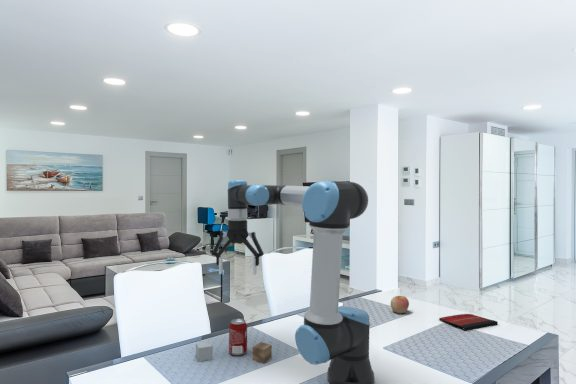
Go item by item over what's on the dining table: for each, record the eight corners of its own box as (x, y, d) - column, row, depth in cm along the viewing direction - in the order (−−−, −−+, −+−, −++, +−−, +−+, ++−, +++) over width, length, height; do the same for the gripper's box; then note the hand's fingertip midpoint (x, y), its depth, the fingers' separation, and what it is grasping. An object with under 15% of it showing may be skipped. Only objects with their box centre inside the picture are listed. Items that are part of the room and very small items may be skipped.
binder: (497, 321, 179) (464, 327, 170) (497, 326, 178) (464, 332, 170) (469, 312, 193) (436, 317, 185) (469, 316, 193) (437, 322, 185)
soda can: (243, 357, 142) (244, 324, 142) (226, 355, 144) (226, 323, 143) (249, 349, 149) (249, 318, 149) (232, 348, 150) (232, 317, 150)
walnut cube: (271, 358, 142) (271, 344, 142) (263, 363, 138) (264, 349, 137) (260, 355, 144) (260, 341, 144) (252, 360, 140) (252, 346, 140)
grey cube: (212, 359, 140) (212, 346, 140) (198, 362, 138) (198, 348, 138) (209, 354, 145) (209, 340, 145) (195, 356, 143) (196, 342, 143)
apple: (410, 311, 196) (410, 295, 196) (405, 316, 189) (405, 300, 189) (393, 308, 201) (393, 293, 201) (388, 313, 194) (388, 297, 193)
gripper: (270, 219, 155) (270, 272, 155) (209, 218, 157) (209, 271, 157) (267, 220, 147) (268, 276, 147) (203, 220, 149) (203, 275, 149)
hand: (237, 273), depth 152 cm, fingers open, 13 cm apart
